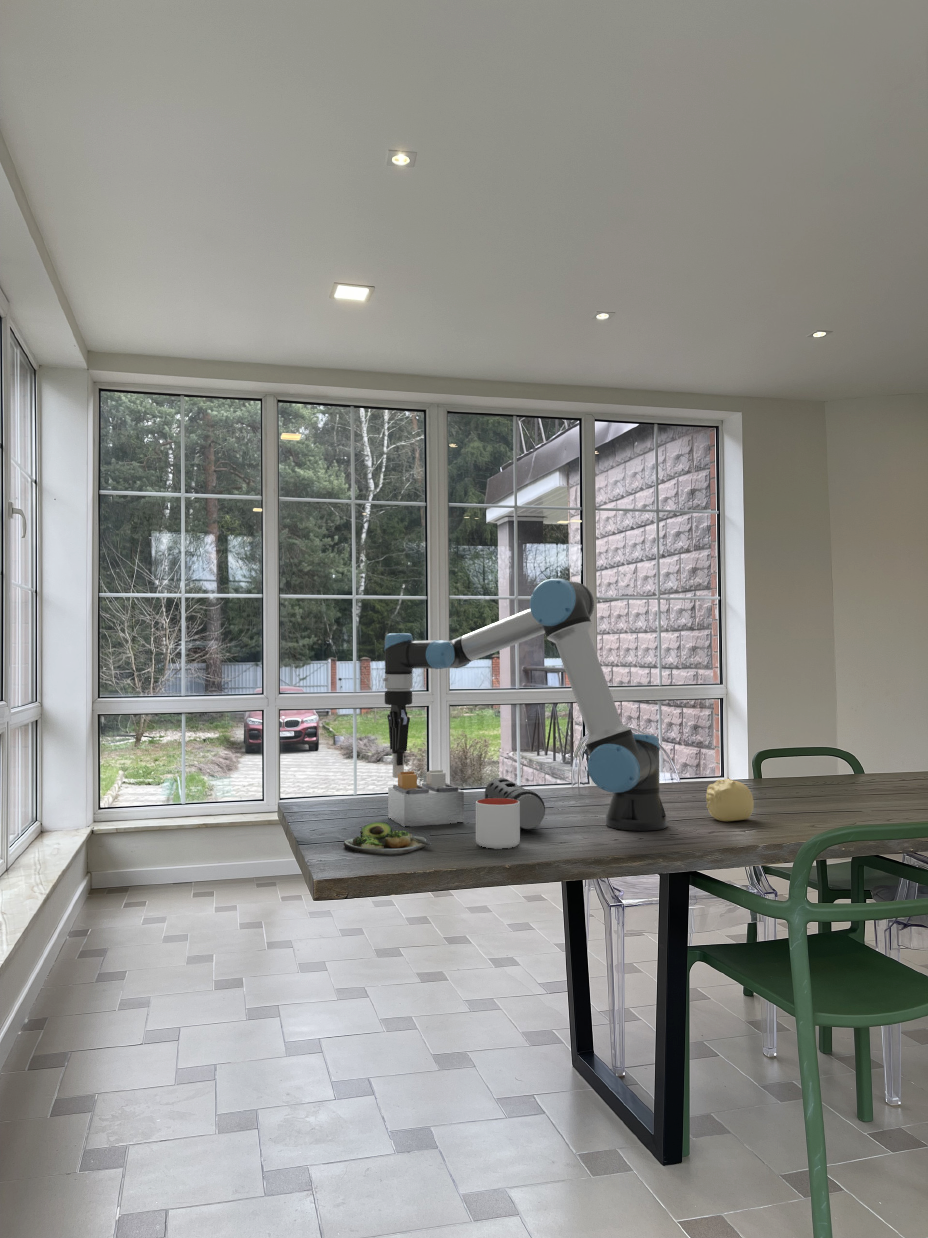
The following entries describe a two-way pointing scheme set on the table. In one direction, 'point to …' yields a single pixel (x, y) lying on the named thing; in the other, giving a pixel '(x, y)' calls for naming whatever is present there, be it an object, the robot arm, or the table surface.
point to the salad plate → (384, 840)
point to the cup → (497, 823)
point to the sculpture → (729, 800)
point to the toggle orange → (407, 780)
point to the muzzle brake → (529, 801)
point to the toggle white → (436, 778)
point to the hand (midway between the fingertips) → (398, 777)
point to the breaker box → (425, 805)
